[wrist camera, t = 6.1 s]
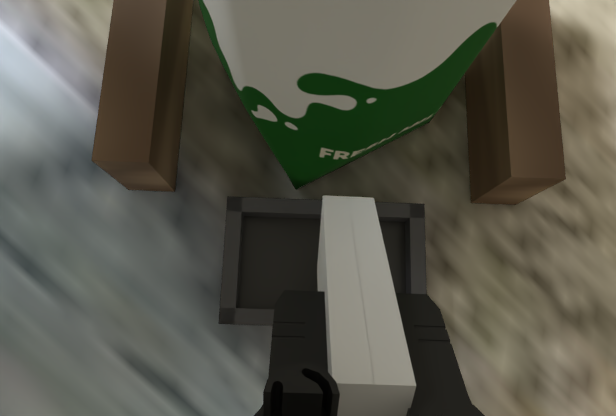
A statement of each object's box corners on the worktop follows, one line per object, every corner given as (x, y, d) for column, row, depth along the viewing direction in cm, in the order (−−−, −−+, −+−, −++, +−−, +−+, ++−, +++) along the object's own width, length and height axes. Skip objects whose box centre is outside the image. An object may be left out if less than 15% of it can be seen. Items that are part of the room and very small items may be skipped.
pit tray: (223, 323, 20) (218, 323, 18) (232, 205, 21) (227, 196, 19) (417, 329, 20) (427, 330, 19) (414, 211, 21) (424, 204, 20)
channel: (128, 190, 21) (91, 160, 17) (154, -29, 23) (127, -99, 20) (515, 204, 21) (565, 179, 17) (500, -12, 24) (541, -77, 20)
